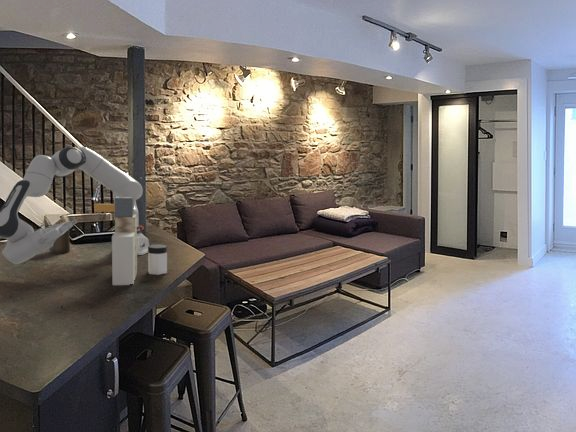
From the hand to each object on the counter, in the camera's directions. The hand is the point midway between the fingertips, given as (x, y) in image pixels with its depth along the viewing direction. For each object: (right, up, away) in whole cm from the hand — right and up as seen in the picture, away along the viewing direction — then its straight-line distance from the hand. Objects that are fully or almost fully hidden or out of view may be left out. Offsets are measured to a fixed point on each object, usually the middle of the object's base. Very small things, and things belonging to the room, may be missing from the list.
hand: (73, 222), depth 201 cm
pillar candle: (-28, -16, +45) cm, 55 cm away
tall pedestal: (+19, -23, +8) cm, 31 cm away
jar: (+31, -23, +14) cm, 41 cm away
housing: (+16, +3, +3) cm, 16 cm away
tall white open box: (+22, -24, -3) cm, 33 cm away
